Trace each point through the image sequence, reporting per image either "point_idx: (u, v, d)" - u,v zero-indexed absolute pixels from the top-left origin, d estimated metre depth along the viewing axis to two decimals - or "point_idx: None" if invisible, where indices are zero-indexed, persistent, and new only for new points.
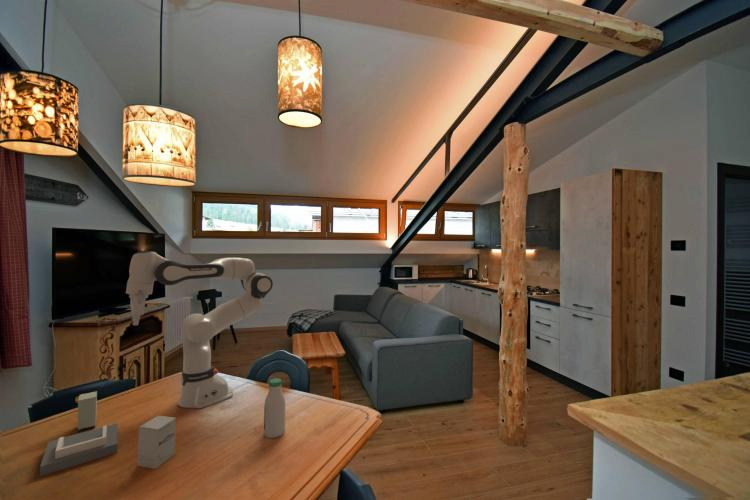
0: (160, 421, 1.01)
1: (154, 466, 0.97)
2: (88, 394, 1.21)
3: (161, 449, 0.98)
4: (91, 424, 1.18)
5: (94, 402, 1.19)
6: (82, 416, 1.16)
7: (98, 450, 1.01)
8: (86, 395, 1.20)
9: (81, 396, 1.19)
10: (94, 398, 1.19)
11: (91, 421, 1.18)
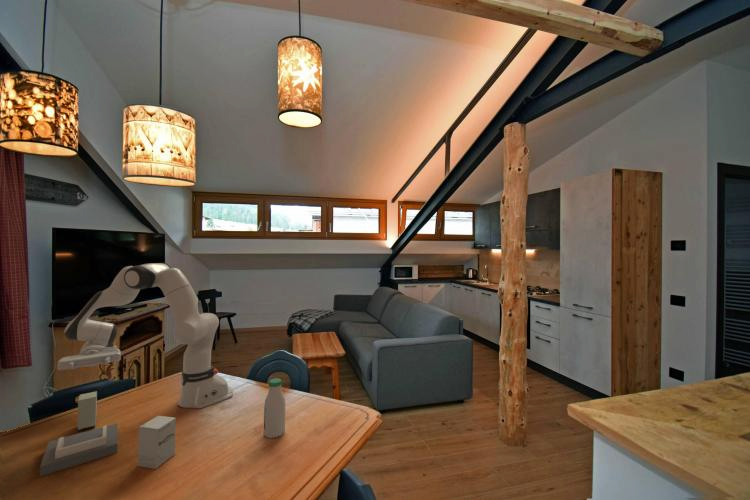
0: (160, 421, 1.01)
1: (154, 466, 0.97)
2: (88, 394, 1.21)
3: (161, 449, 0.98)
4: (91, 424, 1.18)
5: (94, 402, 1.19)
6: (82, 416, 1.16)
7: (98, 450, 1.01)
8: (86, 395, 1.20)
9: (81, 396, 1.19)
10: (94, 398, 1.19)
11: (91, 421, 1.18)
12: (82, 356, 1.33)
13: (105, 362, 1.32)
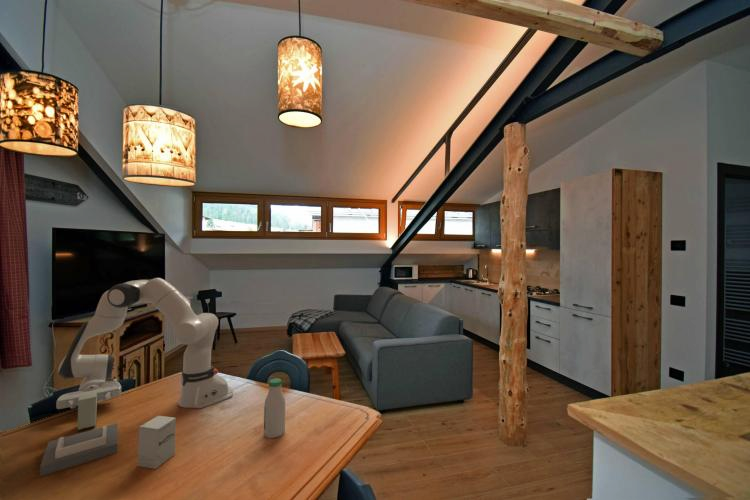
0: (160, 421, 1.01)
1: (154, 466, 0.97)
2: (88, 394, 1.21)
3: (161, 449, 0.98)
4: (91, 424, 1.18)
5: (94, 402, 1.19)
6: (82, 416, 1.16)
7: (98, 450, 1.01)
8: (86, 395, 1.20)
9: (81, 396, 1.19)
10: (94, 398, 1.19)
11: (91, 421, 1.18)
12: (81, 393, 1.30)
13: (105, 399, 1.28)
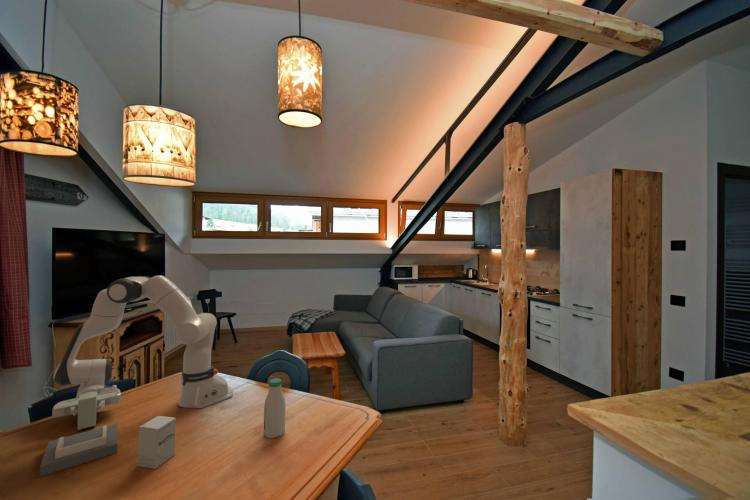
0: (160, 421, 1.01)
1: (154, 466, 0.97)
2: (88, 394, 1.21)
3: (161, 449, 0.98)
4: (91, 424, 1.18)
5: (94, 402, 1.19)
6: (82, 416, 1.16)
7: (98, 450, 1.01)
8: (87, 395, 1.20)
9: (81, 396, 1.19)
10: (94, 398, 1.19)
11: (91, 421, 1.18)
12: None
13: (99, 408, 1.21)
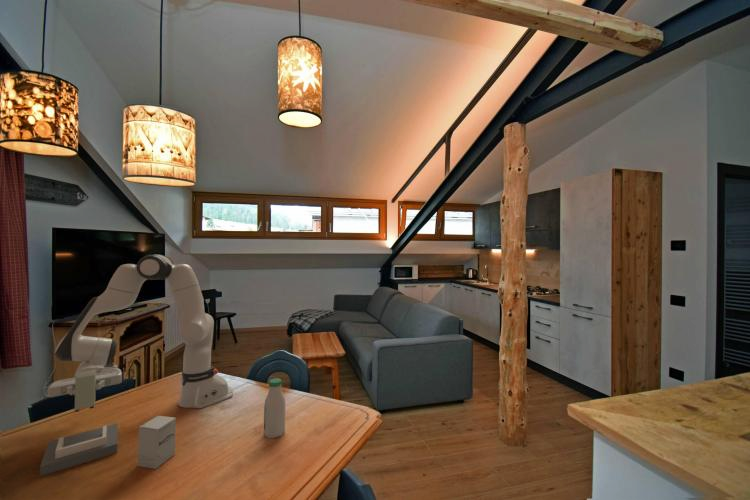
0: (160, 421, 1.01)
1: (154, 466, 0.97)
2: (86, 372, 1.11)
3: (161, 449, 0.98)
4: (89, 404, 1.09)
5: (93, 381, 1.09)
6: (80, 396, 1.07)
7: (98, 450, 1.01)
8: (85, 373, 1.11)
9: (79, 374, 1.09)
10: (93, 376, 1.09)
11: (89, 402, 1.09)
12: None
13: (98, 387, 1.12)
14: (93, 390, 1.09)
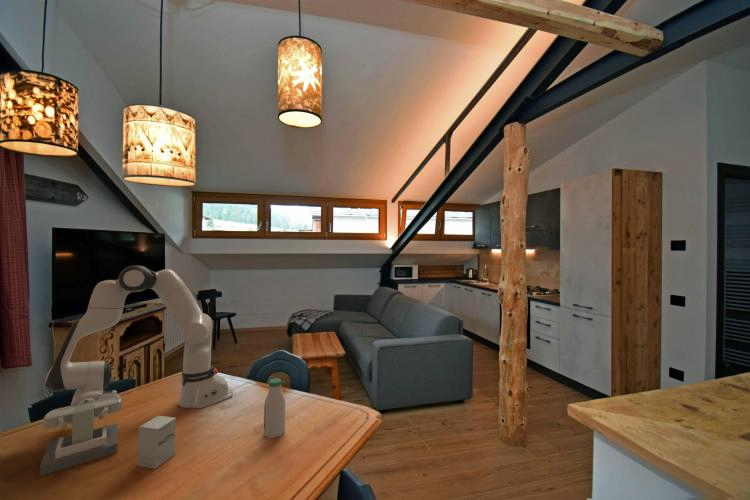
0: (160, 421, 1.01)
1: (154, 466, 0.97)
2: (84, 406, 1.06)
3: (161, 449, 0.98)
4: (87, 440, 1.03)
5: (91, 415, 1.04)
6: (77, 432, 1.02)
7: (98, 450, 1.01)
8: (82, 407, 1.05)
9: (76, 408, 1.04)
10: (91, 411, 1.04)
11: (87, 437, 1.03)
12: None
13: (102, 416, 1.07)
14: (91, 425, 1.04)
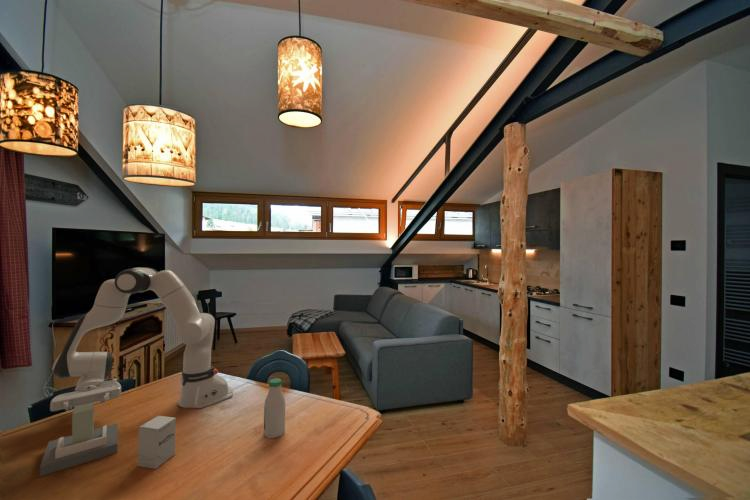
0: (160, 421, 1.01)
1: (154, 466, 0.97)
2: (84, 406, 1.06)
3: (161, 449, 0.98)
4: (87, 440, 1.03)
5: (91, 415, 1.04)
6: (77, 432, 1.02)
7: (98, 450, 1.01)
8: (82, 407, 1.05)
9: (76, 408, 1.04)
10: (91, 411, 1.04)
11: (87, 437, 1.03)
12: (78, 393, 1.19)
13: (103, 400, 1.18)
14: (91, 425, 1.04)
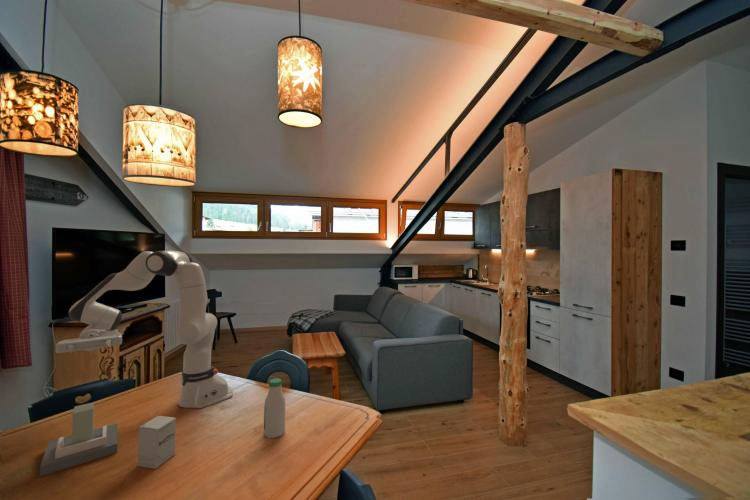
0: (160, 421, 1.01)
1: (154, 466, 0.97)
2: (84, 406, 1.06)
3: (161, 449, 0.98)
4: (87, 440, 1.03)
5: (91, 415, 1.04)
6: (77, 432, 1.02)
7: (98, 450, 1.01)
8: (82, 407, 1.05)
9: (76, 408, 1.04)
10: (91, 411, 1.04)
11: (87, 437, 1.03)
12: (81, 339, 1.26)
13: (105, 345, 1.25)
14: (91, 425, 1.04)
